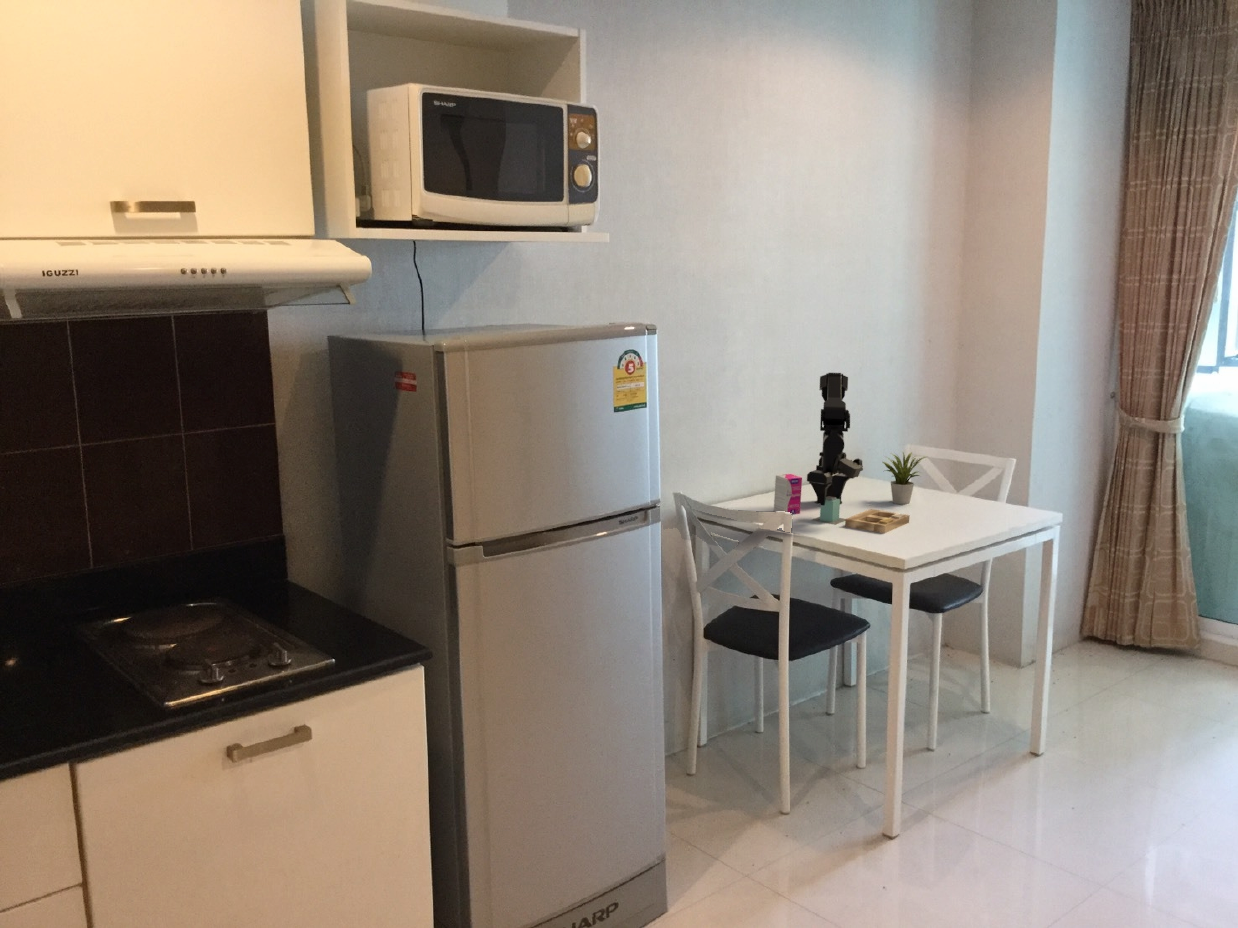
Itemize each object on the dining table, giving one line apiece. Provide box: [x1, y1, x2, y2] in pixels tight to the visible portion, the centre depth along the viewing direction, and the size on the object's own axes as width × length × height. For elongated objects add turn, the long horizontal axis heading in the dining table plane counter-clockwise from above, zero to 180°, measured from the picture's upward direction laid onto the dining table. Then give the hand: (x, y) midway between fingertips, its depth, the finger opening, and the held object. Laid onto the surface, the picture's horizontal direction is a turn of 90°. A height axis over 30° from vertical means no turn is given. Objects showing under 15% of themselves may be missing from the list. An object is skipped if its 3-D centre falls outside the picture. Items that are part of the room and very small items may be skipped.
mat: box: [811, 516, 846, 526], centre depth 309 cm, size 8×8×1 cm
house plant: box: [882, 452, 927, 505], centre depth 333 cm, size 14×14×16 cm
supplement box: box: [773, 473, 803, 515], centre depth 316 cm, size 6×6×12 cm
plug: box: [819, 496, 841, 522], centre depth 308 cm, size 4×4×7 cm
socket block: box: [844, 508, 911, 534], centre depth 304 cm, size 12×16×3 cm
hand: (830, 502), depth 308 cm, fingers open, 9 cm apart
